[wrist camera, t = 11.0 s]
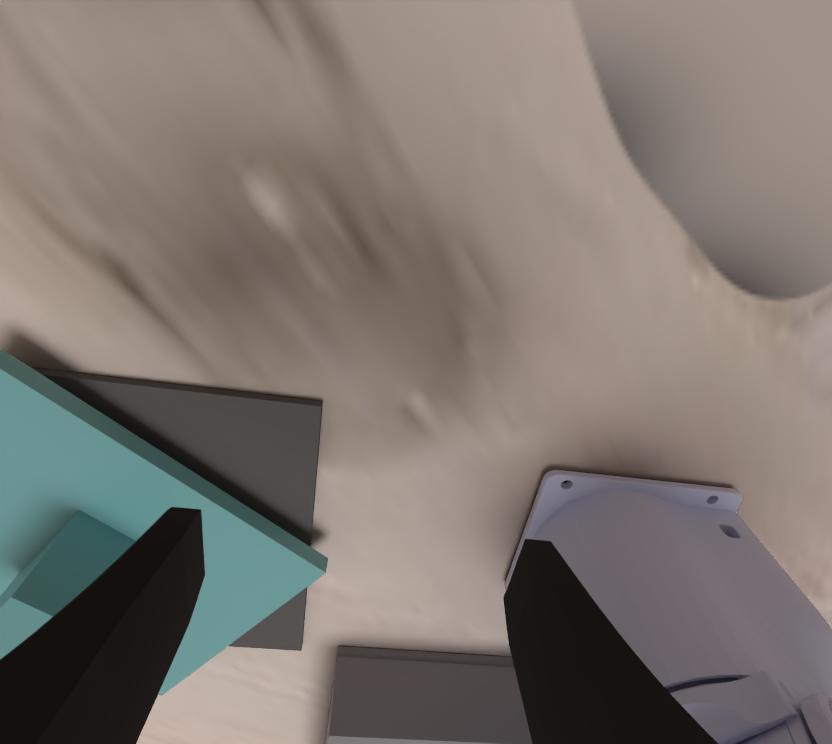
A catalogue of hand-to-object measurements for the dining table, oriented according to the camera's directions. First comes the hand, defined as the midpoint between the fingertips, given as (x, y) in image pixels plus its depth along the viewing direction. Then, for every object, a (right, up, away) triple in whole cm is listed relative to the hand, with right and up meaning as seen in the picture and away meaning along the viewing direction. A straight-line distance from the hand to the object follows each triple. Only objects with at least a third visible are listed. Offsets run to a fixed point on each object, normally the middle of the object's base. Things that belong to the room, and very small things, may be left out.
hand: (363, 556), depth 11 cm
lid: (-13, -3, +12) cm, 18 cm away
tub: (+3, -17, +20) cm, 27 cm away
